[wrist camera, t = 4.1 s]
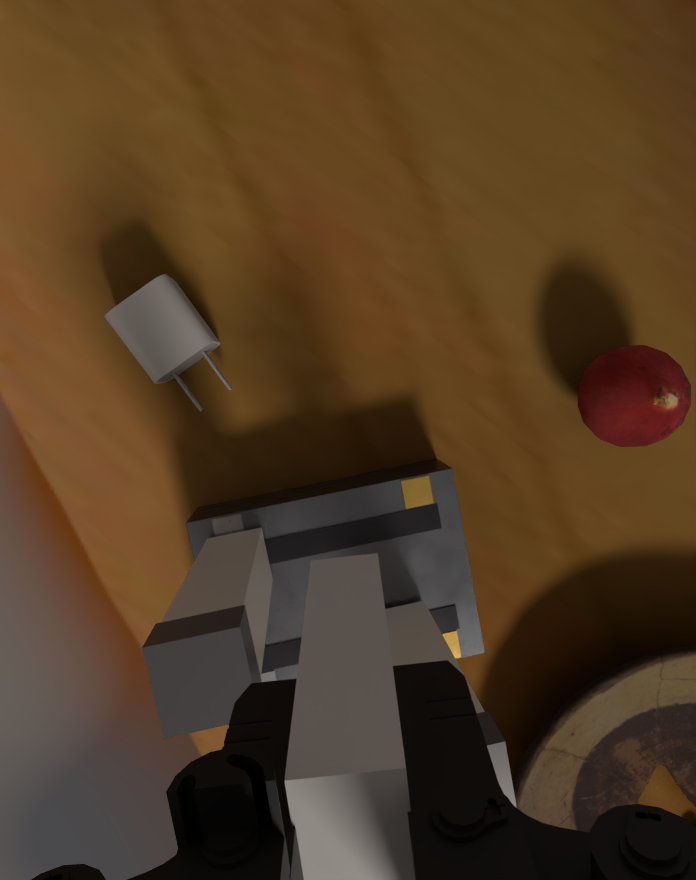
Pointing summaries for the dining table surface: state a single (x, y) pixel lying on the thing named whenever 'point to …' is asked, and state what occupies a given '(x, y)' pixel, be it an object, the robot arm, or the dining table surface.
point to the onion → (633, 396)
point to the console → (358, 549)
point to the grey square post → (211, 635)
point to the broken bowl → (613, 741)
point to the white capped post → (424, 642)
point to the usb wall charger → (164, 331)
